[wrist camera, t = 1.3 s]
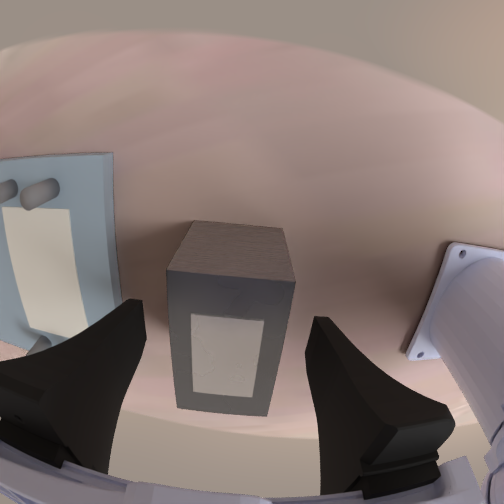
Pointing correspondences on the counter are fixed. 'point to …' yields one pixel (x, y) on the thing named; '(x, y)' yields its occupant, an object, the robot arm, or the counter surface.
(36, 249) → the pin tray
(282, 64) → the counter surface
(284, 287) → the block
